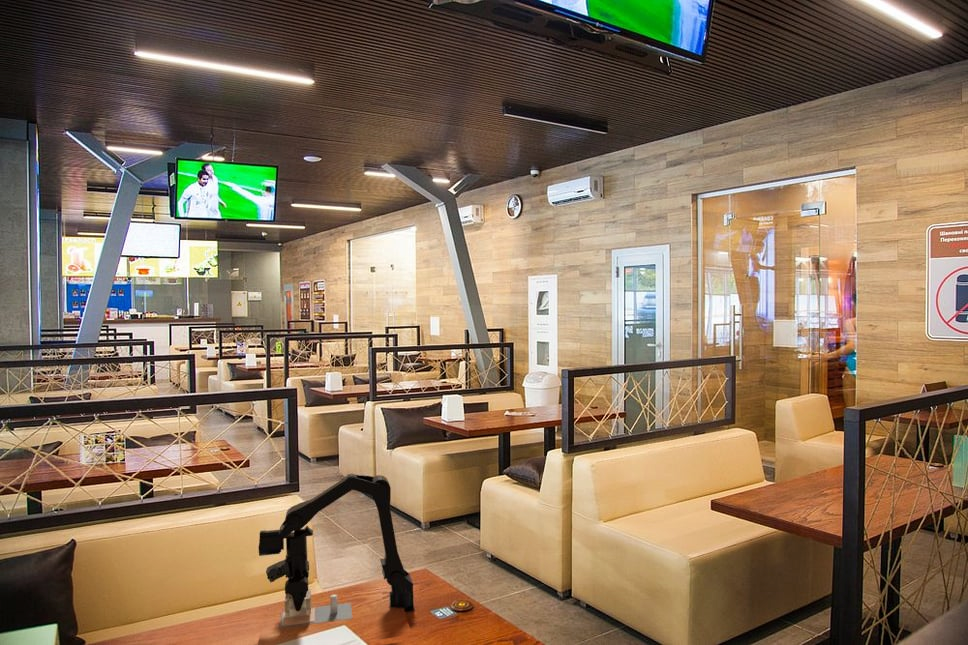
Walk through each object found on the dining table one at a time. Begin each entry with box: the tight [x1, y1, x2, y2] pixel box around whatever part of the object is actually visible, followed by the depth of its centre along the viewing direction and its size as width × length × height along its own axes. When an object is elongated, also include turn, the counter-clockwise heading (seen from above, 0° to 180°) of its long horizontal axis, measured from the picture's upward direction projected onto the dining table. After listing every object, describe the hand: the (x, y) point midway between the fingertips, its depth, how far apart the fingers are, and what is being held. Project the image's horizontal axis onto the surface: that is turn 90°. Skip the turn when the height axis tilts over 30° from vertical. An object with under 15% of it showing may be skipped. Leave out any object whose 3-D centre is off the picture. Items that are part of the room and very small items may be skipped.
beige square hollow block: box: [284, 588, 312, 618], centre depth 192 cm, size 7×7×4 cm
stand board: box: [279, 594, 353, 629], centre depth 193 cm, size 20×11×6 cm, turn 104°
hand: (298, 605), depth 192 cm, fingers closed on beige square hollow block, 7 cm apart
